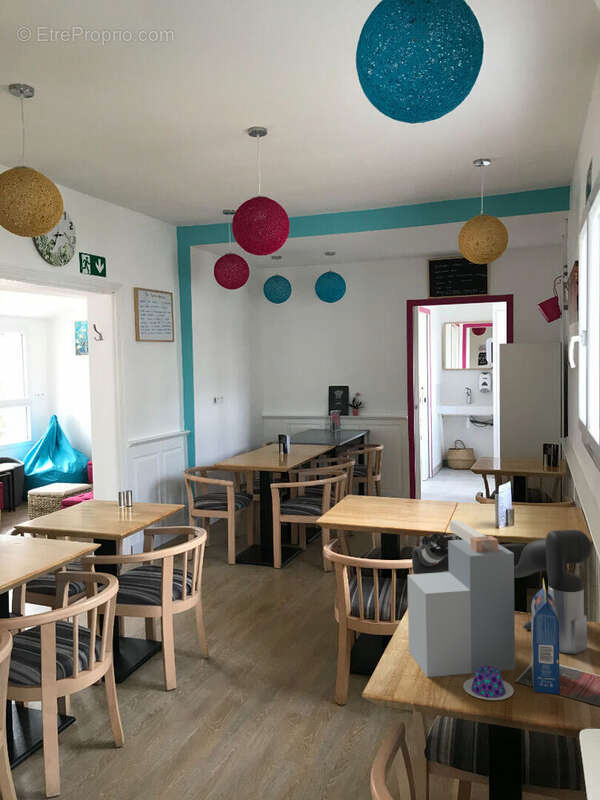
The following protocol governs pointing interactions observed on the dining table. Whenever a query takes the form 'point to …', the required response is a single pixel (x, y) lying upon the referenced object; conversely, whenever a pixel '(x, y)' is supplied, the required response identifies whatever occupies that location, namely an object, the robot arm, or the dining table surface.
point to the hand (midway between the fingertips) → (450, 534)
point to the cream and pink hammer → (474, 537)
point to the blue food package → (545, 643)
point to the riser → (464, 613)
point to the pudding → (488, 684)
